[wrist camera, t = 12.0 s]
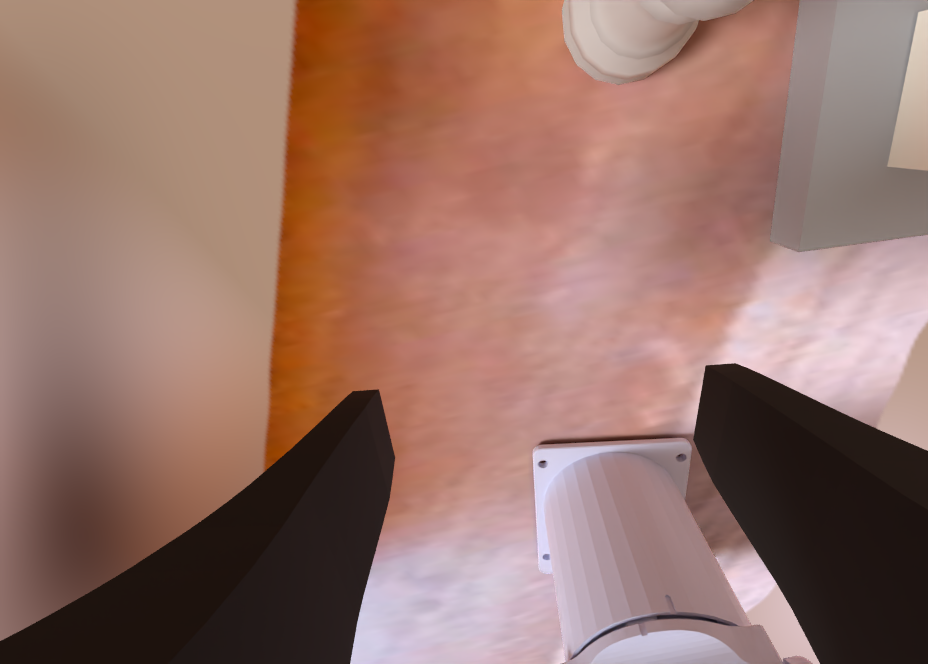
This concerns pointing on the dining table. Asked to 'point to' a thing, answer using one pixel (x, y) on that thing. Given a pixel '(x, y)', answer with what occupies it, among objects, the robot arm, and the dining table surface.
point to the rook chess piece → (634, 33)
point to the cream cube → (913, 106)
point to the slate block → (847, 128)
